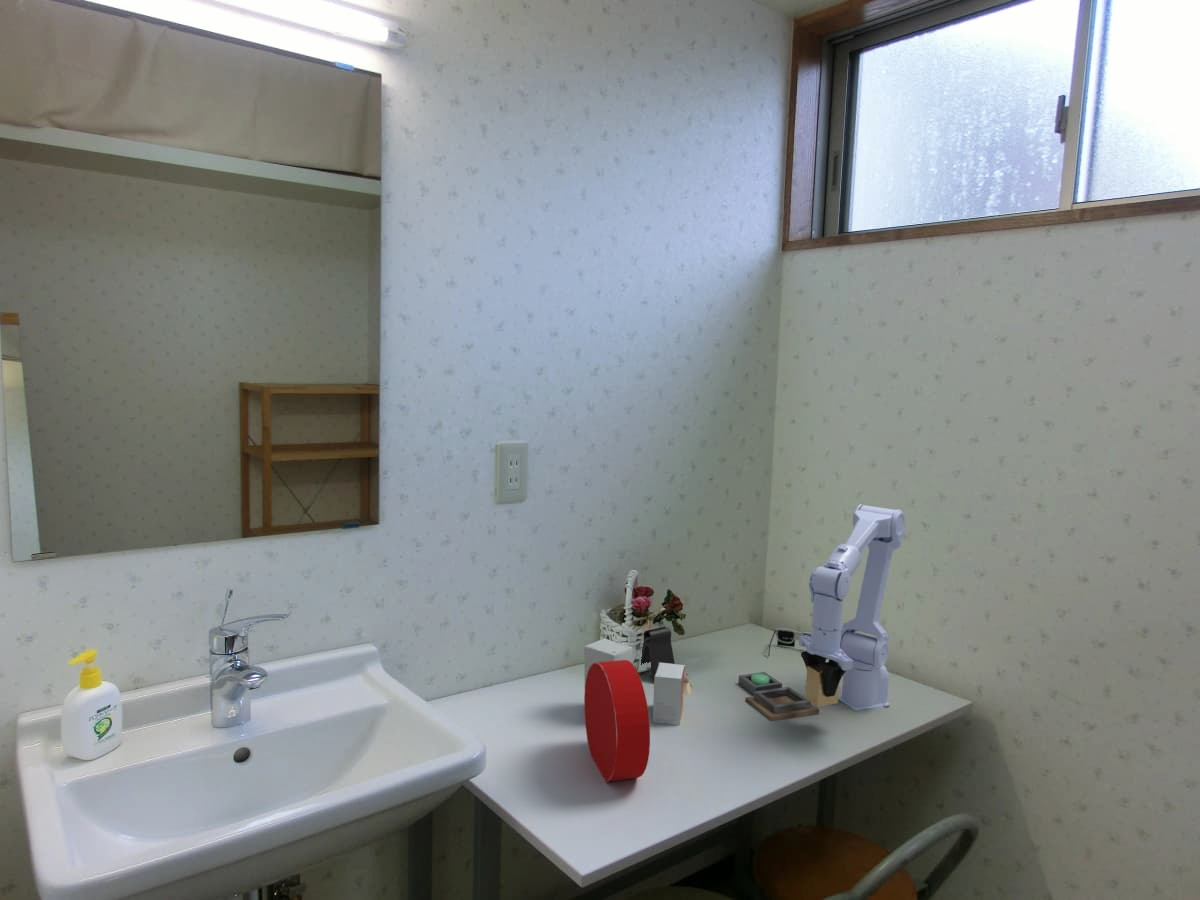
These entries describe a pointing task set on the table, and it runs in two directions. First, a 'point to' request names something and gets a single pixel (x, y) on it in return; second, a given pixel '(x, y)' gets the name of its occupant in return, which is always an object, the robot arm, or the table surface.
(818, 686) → the block
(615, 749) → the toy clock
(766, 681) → the button
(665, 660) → the phone stand
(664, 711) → the small box
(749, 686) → the button housing
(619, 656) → the skincare box
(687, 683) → the mouse figurine
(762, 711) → the framed wooden tray
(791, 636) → the smart glasses
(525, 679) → the table surface
